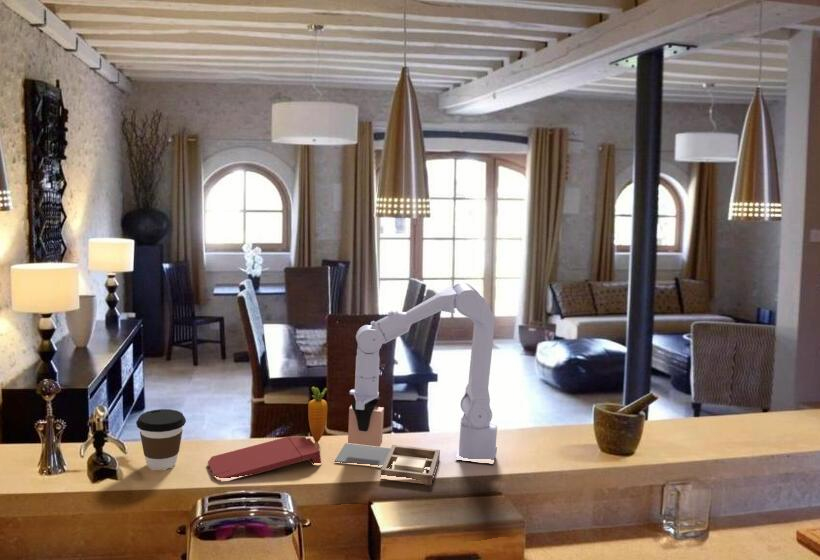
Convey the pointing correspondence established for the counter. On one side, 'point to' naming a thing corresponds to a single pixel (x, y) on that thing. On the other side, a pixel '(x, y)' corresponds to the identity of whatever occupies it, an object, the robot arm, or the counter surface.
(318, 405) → the carrot
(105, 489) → the counter surface
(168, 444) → the coffee cup
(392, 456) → the tray
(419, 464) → the offcut stack
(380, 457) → the mat
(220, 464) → the reddish-brown flat block
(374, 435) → the pink rectangular block
